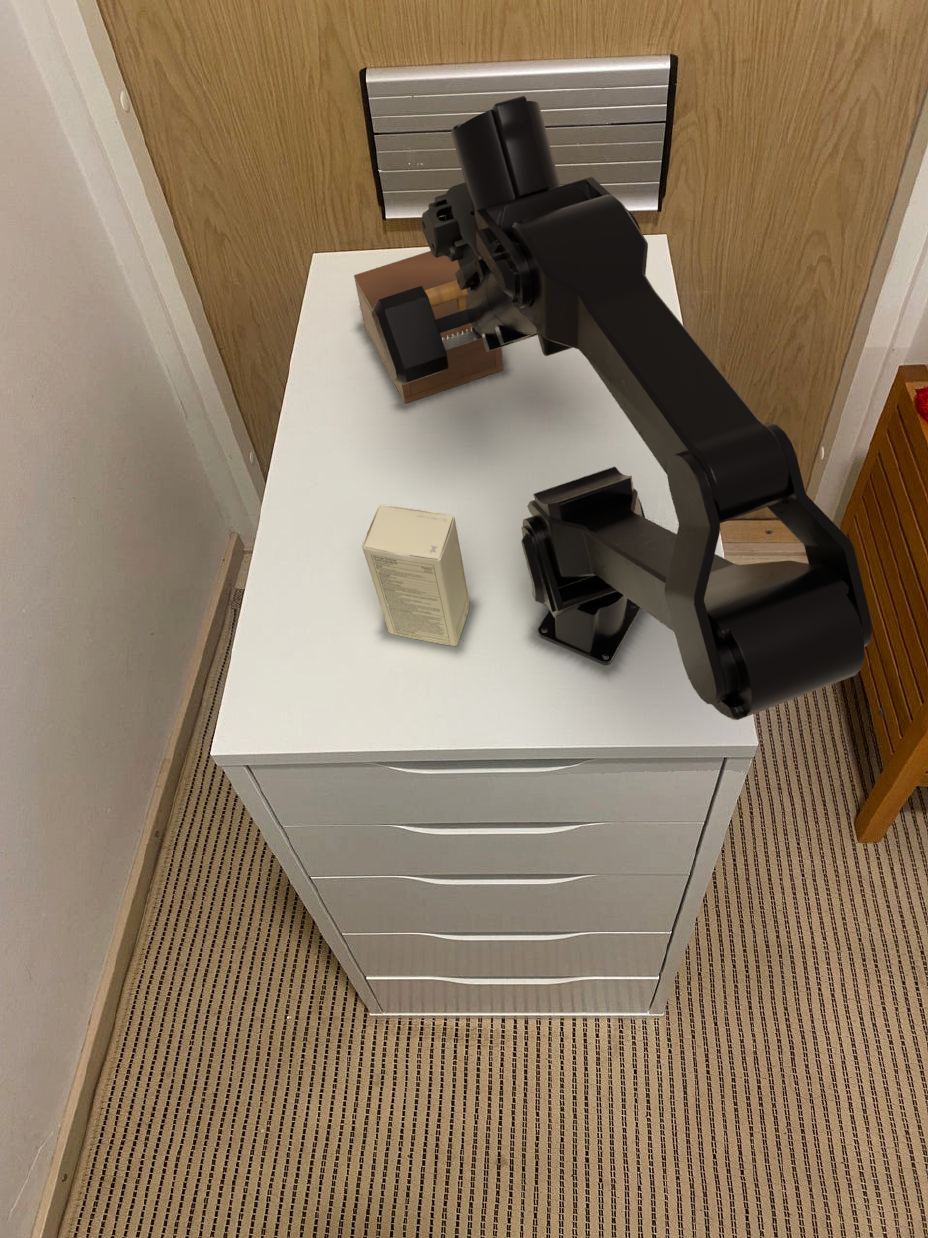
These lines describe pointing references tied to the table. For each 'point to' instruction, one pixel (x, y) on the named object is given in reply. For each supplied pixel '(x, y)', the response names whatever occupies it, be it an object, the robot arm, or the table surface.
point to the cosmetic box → (418, 573)
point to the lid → (417, 284)
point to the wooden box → (461, 362)
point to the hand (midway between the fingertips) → (475, 322)
